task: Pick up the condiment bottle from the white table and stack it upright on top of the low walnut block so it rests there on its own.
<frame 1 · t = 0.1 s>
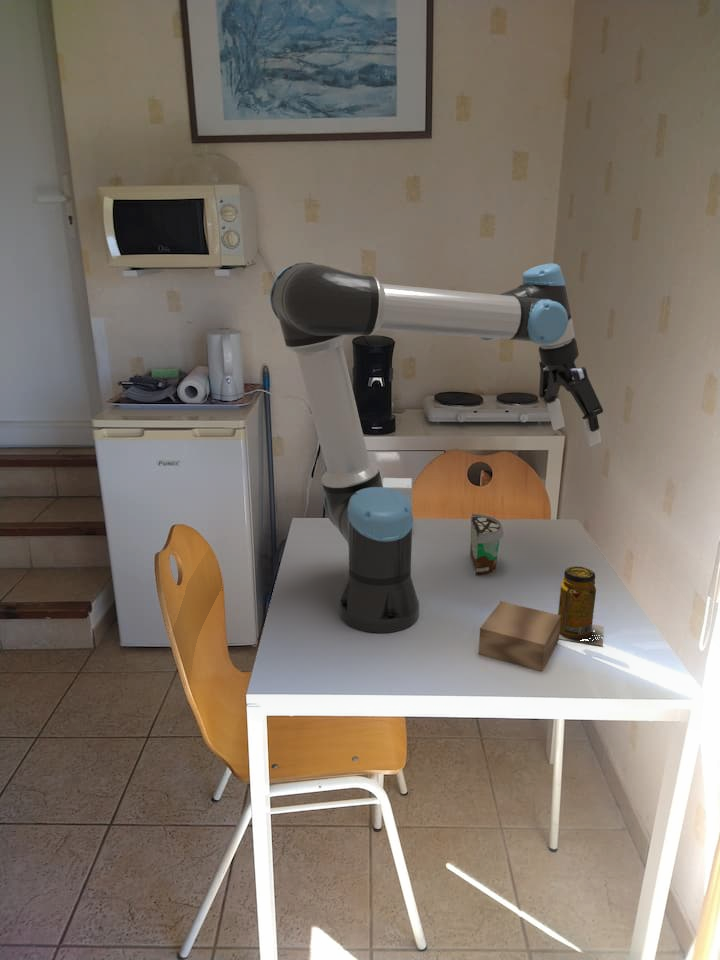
hand: (576, 435, 153), 28 cm above the table, tool tilted 20°, fingers open, 13 cm apart
condiment: (578, 633, 129), on the table
supplement box: (396, 531, 175), on the table
food container: (486, 566, 156), on the table
walnut block: (519, 647, 125), on the table
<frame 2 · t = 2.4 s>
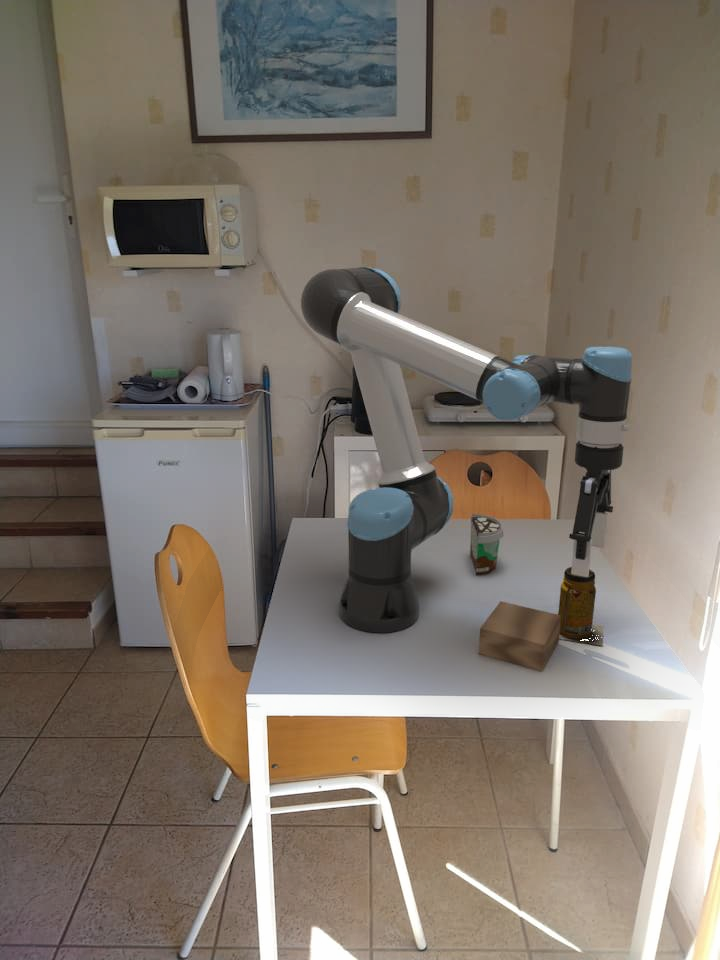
hand: (588, 560, 125), 14 cm above the table, tool pointing down, fingers open, 13 cm apart
nothing on the table moved.
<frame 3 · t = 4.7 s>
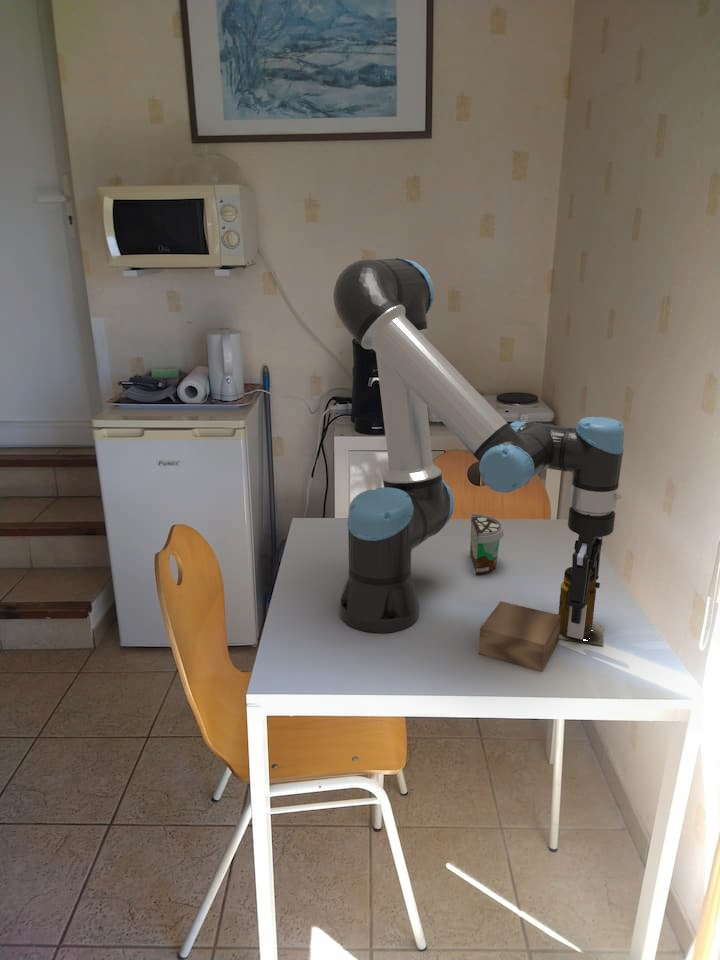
hand: (579, 627, 129), 1 cm above the table, tool pointing down, fingers closed on condiment, 6 cm apart
condiment: (578, 633, 129), on the table, touching gripper
everything else where it was.
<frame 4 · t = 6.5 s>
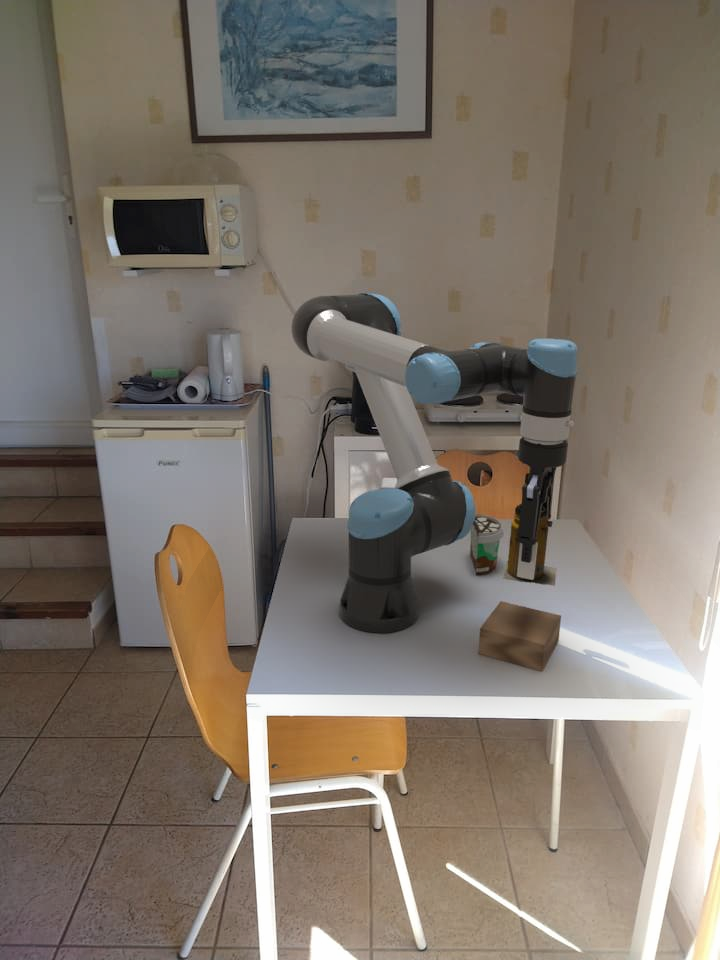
hand: (530, 569, 121), 14 cm above the table, tool pointing down, fingers closed on condiment, 6 cm apart
condiment: (530, 575, 122), point 13 cm above the table, touching gripper
everything else where it was.
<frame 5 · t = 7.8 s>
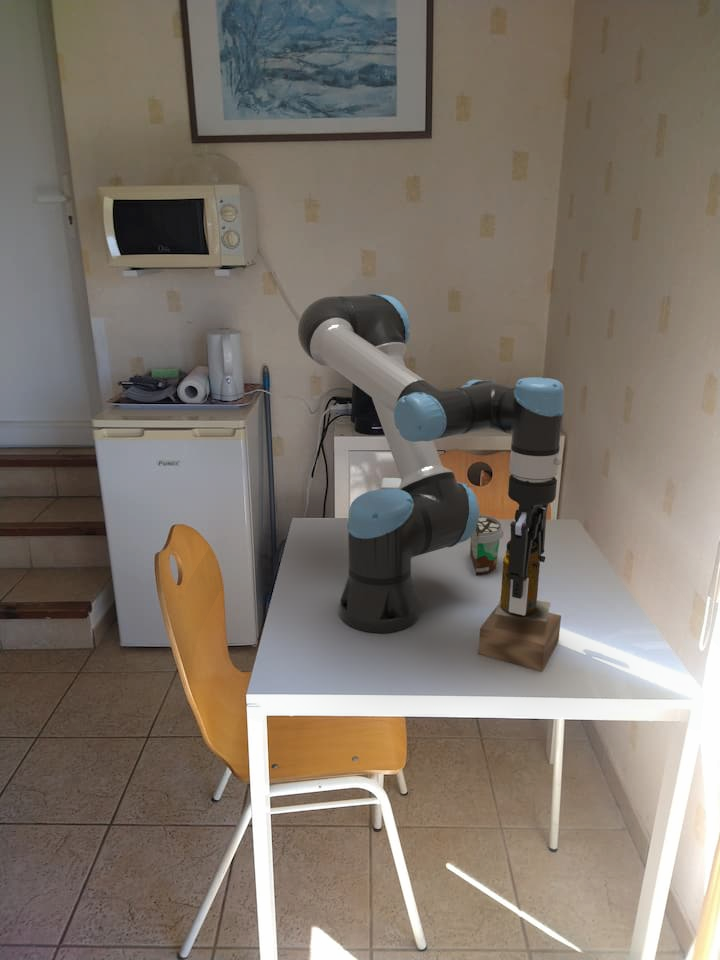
hand: (523, 604, 122), 8 cm above the table, tool pointing down, fingers closed on condiment, 6 cm apart
condiment: (522, 610, 122), point 7 cm above the table, touching gripper
everything else where it was.
when the fingers open (7 cm above the table, at t = 8.7 s): condiment drops 1 cm, resting on walnut block.
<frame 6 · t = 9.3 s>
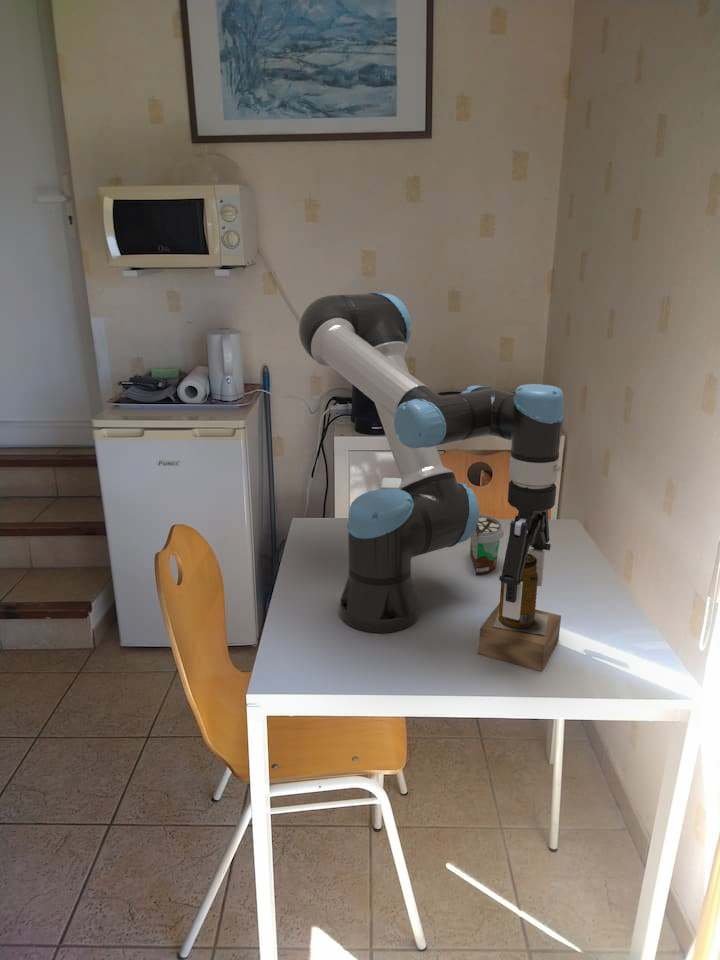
hand: (523, 600, 122), 9 cm above the table, tool pointing down, fingers open, 13 cm apart
condiment: (521, 623, 123), point 5 cm above the table, touching walnut block
everything else where it was.
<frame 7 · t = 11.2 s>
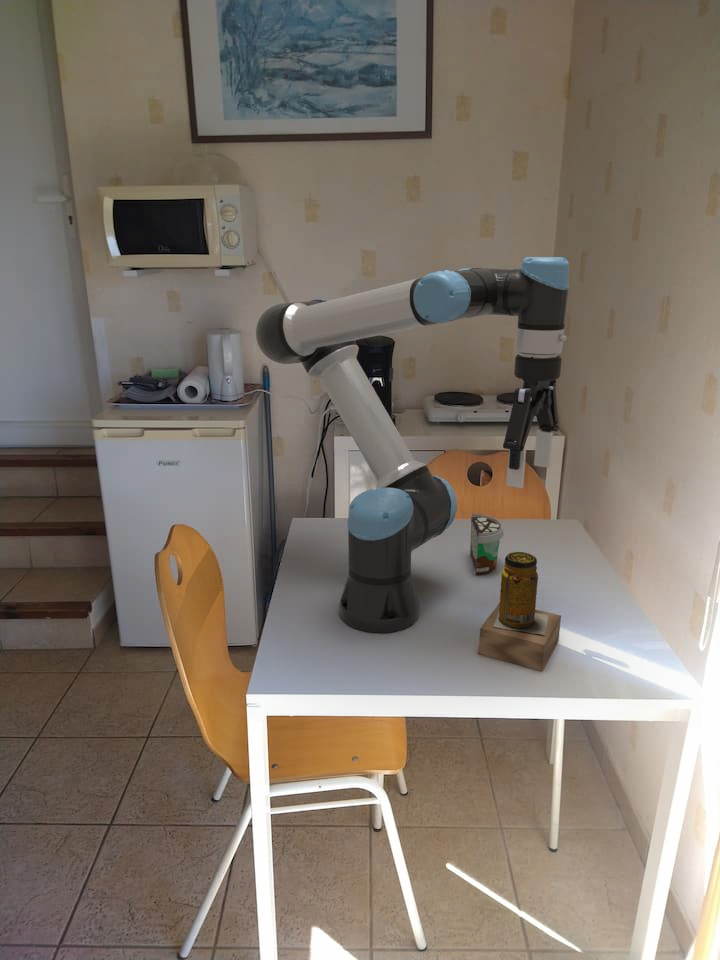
hand: (528, 476, 125), 28 cm above the table, tool pointing down, fingers open, 13 cm apart
nothing on the table moved.
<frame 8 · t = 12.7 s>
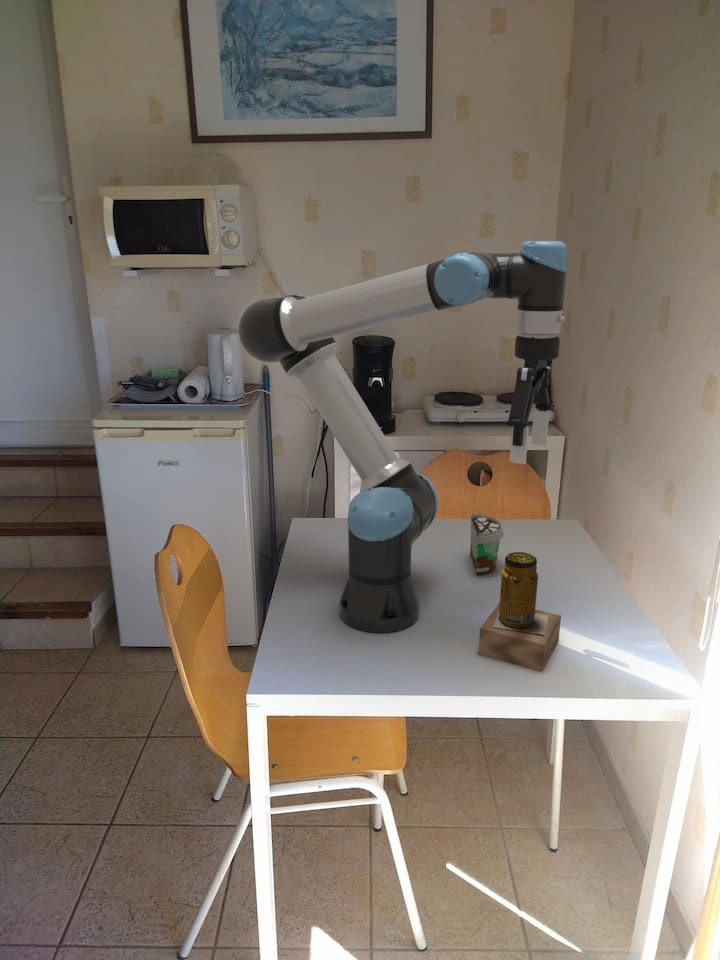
hand: (528, 453, 130), 31 cm above the table, tool pointing down, fingers open, 13 cm apart
nothing on the table moved.
at the end: condiment inside the target area on the walnut block (0.0 cm from its centre), point 4.8 cm above the walnut block's base; condiment tilted 0°; the gripper is holding nothing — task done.
